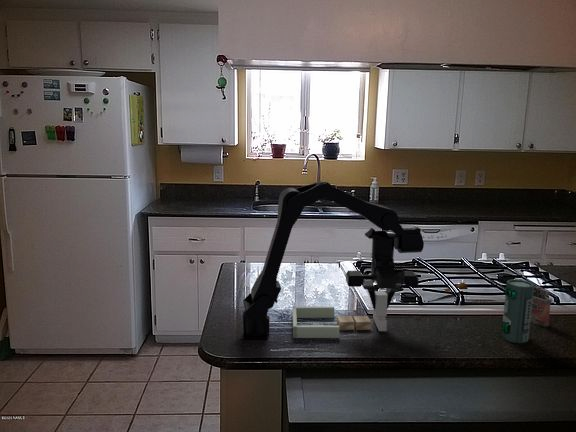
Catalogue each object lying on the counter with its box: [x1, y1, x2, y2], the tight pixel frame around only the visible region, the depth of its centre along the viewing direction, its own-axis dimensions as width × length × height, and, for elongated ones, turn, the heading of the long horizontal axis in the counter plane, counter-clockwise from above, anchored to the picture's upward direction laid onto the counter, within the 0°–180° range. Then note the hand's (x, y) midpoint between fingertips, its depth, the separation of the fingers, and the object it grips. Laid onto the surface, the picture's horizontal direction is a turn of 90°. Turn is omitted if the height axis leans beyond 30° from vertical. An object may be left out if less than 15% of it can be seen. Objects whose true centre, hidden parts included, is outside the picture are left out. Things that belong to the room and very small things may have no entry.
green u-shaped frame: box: [292, 306, 340, 339], centre depth 129 cm, size 12×14×3 cm
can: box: [501, 278, 535, 344], centre depth 121 cm, size 6×6×15 cm
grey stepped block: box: [372, 290, 388, 332], centre depth 129 cm, size 3×9×9 cm, turn 0°
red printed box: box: [530, 285, 552, 327], centre depth 133 cm, size 8×3×10 cm, turn 23°
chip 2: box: [352, 315, 372, 331], centre depth 129 cm, size 4×4×2 cm
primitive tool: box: [442, 282, 469, 292], centre depth 153 cm, size 19×6×4 cm, turn 117°
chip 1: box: [336, 315, 355, 331], centre depth 129 cm, size 4×4×2 cm
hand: (380, 308), depth 129 cm, fingers closed on grey stepped block, 3 cm apart
